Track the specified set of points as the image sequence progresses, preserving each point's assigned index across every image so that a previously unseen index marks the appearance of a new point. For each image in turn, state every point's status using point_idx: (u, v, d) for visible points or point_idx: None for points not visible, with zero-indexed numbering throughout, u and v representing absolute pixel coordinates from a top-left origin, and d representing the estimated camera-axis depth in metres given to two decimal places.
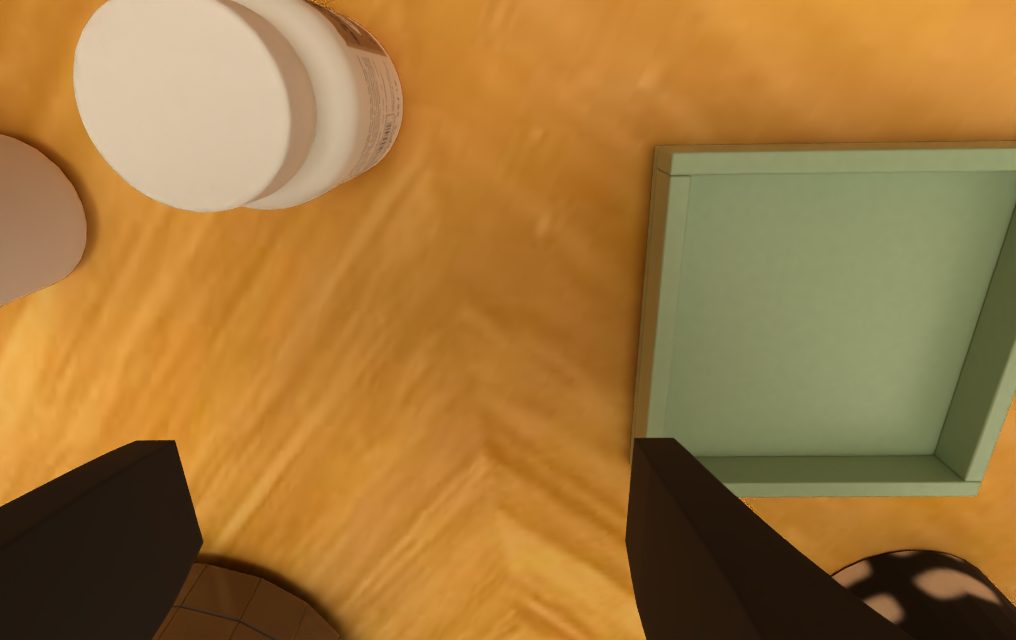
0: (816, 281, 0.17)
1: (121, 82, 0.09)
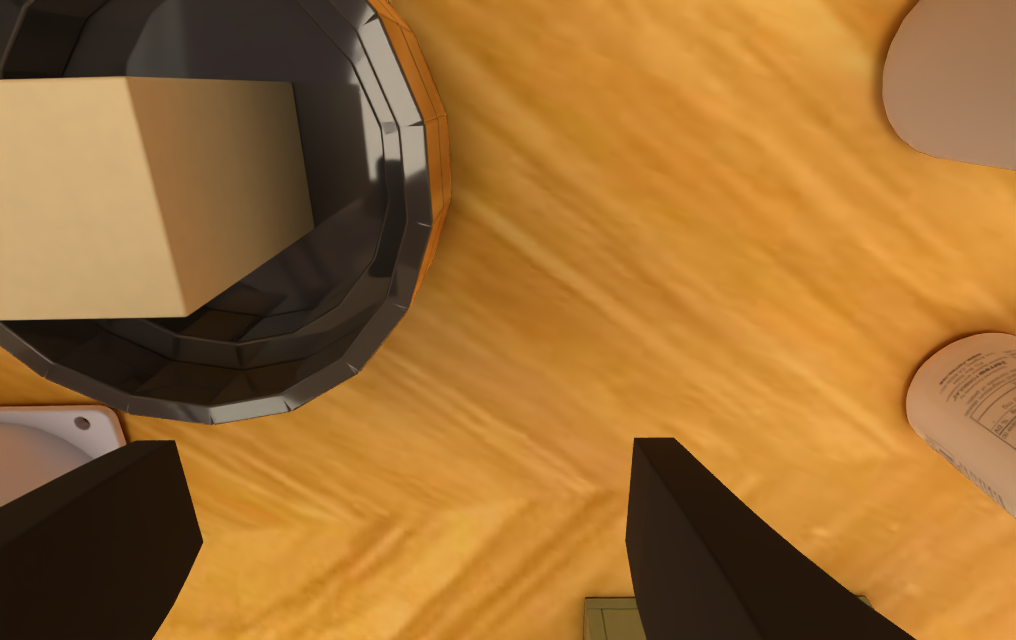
0: None
1: None
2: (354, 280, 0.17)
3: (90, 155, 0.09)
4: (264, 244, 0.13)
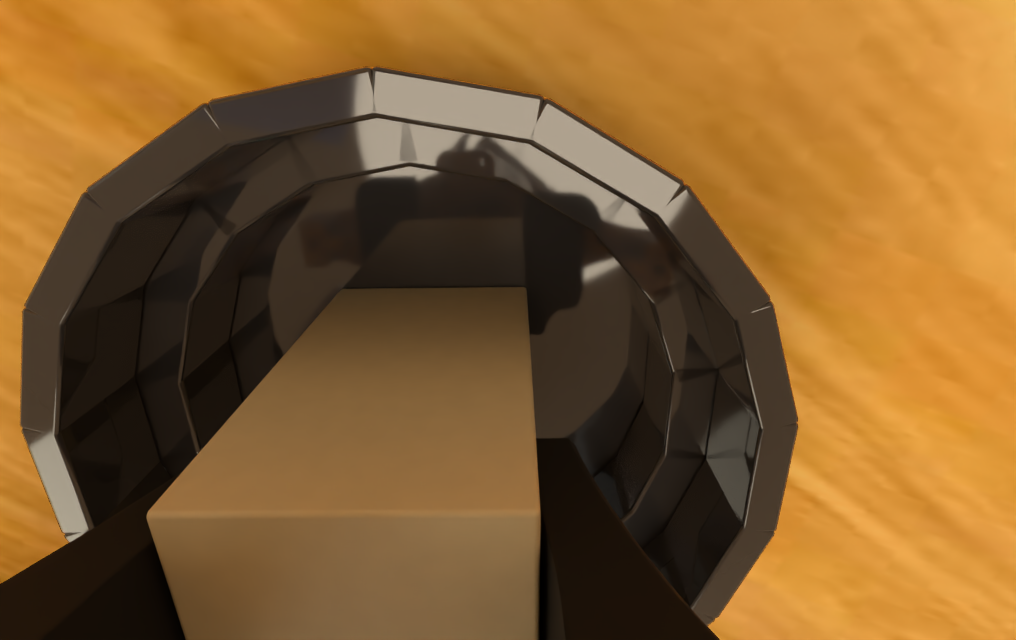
0: None
1: None
2: None
3: (457, 599, 0.06)
4: None
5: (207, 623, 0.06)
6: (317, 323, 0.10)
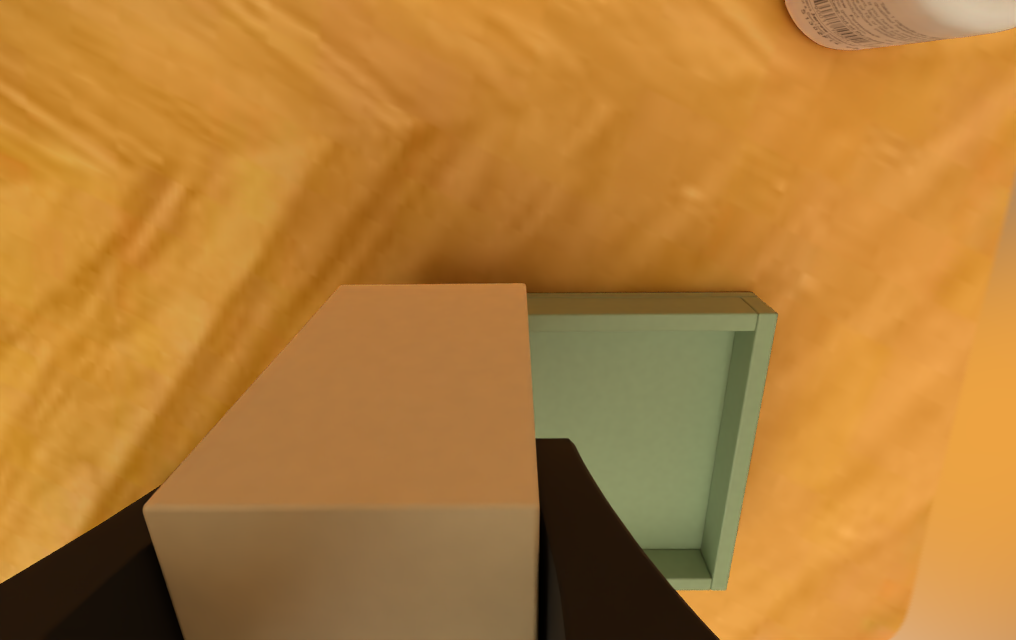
0: (621, 434, 0.20)
1: None
2: None
3: (456, 593, 0.06)
4: None
5: (204, 618, 0.06)
6: (316, 319, 0.10)
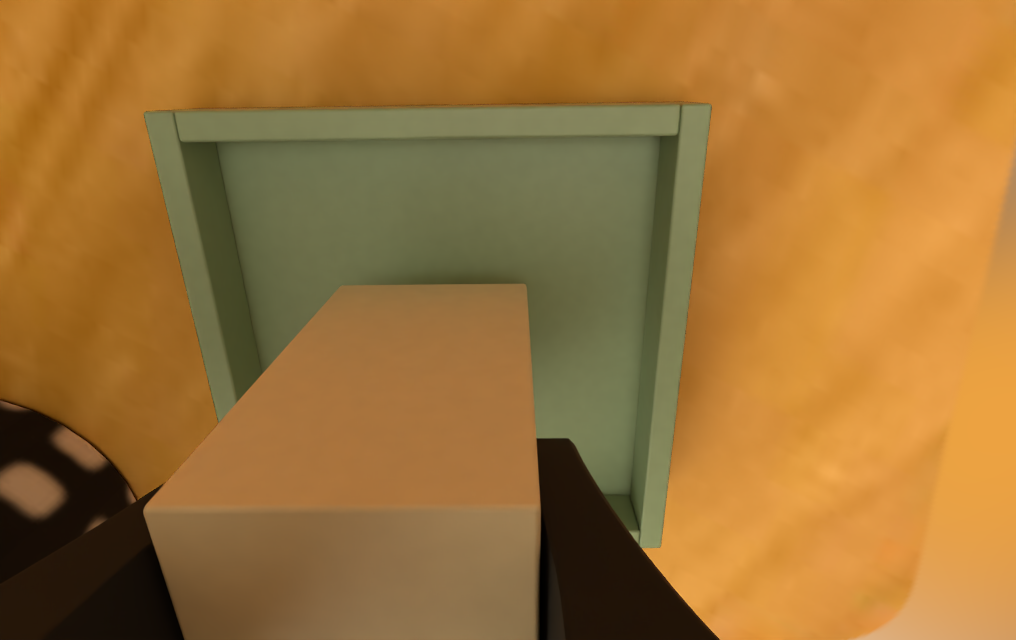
0: None
1: None
2: None
3: (457, 594, 0.06)
4: None
5: (205, 619, 0.06)
6: (317, 320, 0.10)
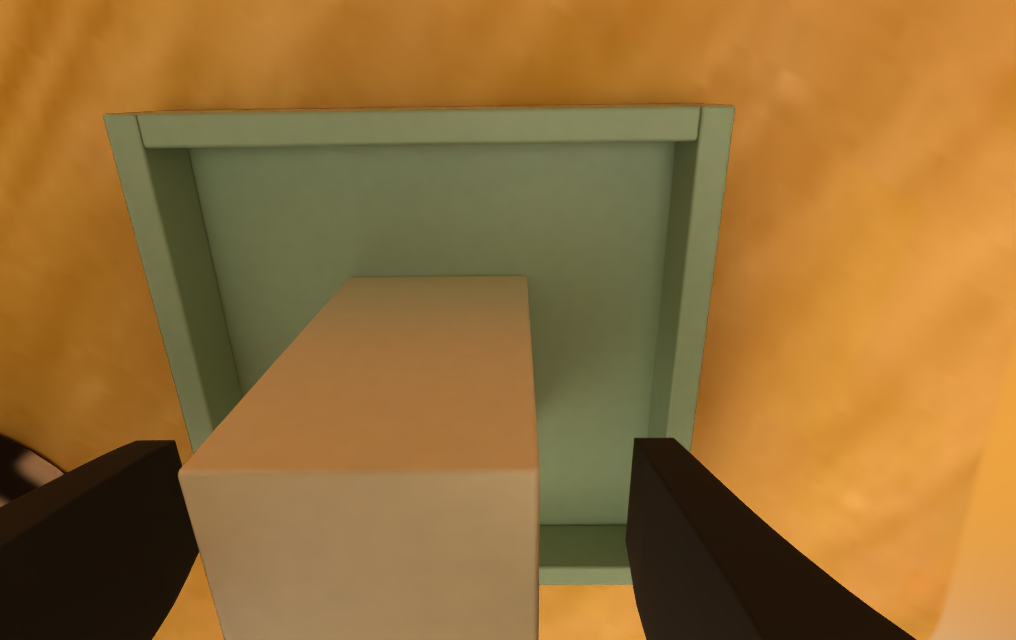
0: None
1: None
2: None
3: (463, 552, 0.07)
4: None
5: (231, 576, 0.07)
6: (327, 308, 0.11)
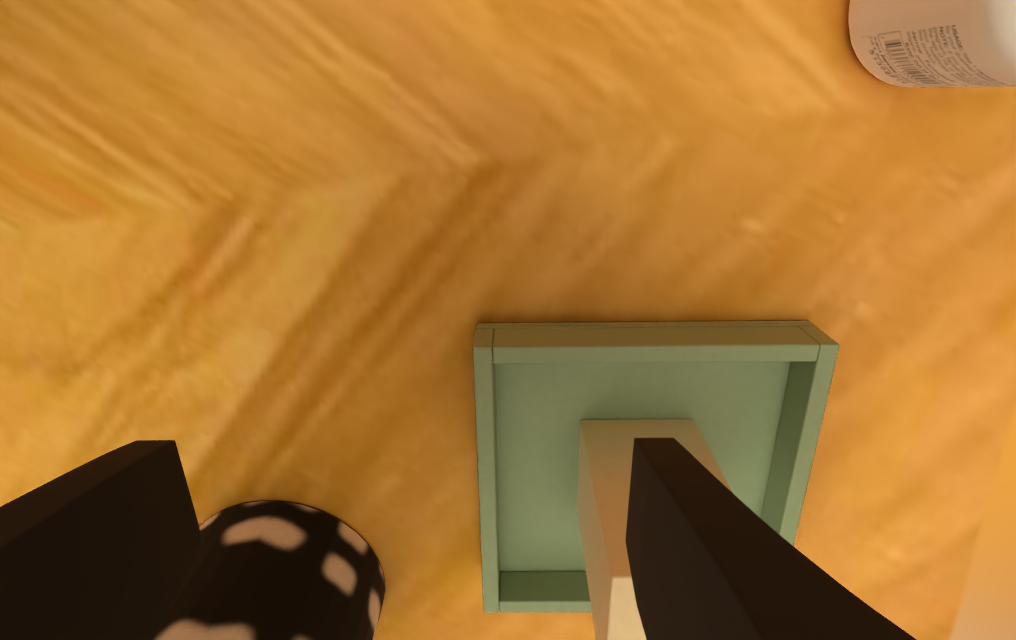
0: None
1: None
2: None
3: None
4: None
5: (622, 623, 0.14)
6: (591, 453, 0.18)
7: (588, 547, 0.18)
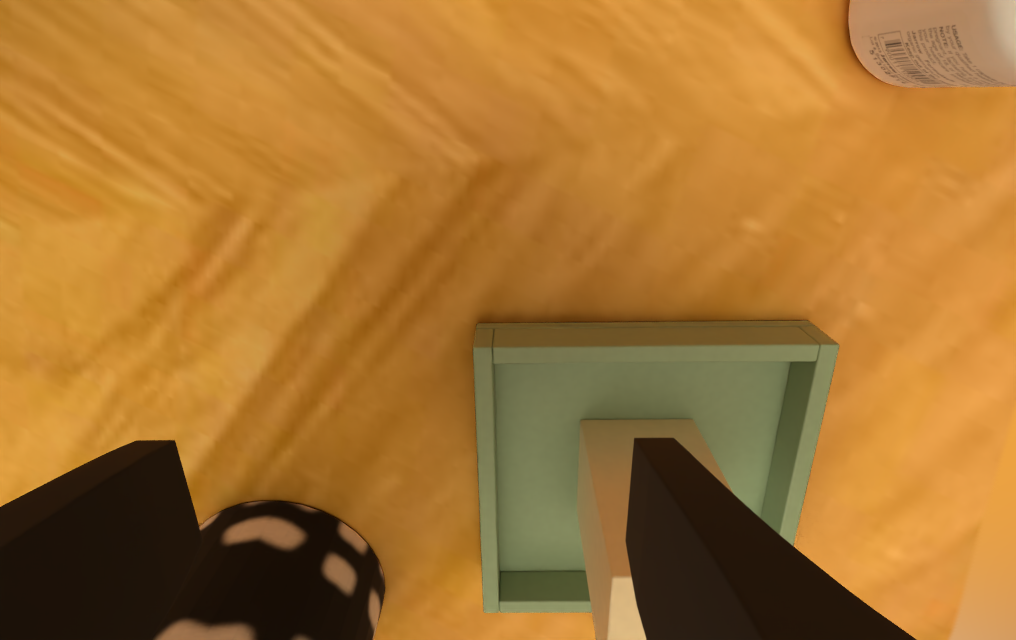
0: None
1: None
2: None
3: None
4: None
5: (622, 623, 0.14)
6: (591, 453, 0.18)
7: (588, 547, 0.18)
